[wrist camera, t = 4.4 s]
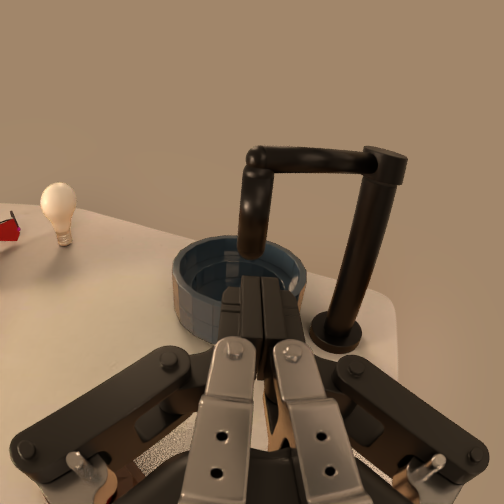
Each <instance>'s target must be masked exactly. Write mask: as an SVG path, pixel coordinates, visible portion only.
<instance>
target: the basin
mask: <svg viewBox="0 0 504 504" xmlns="http://www.w3.org/2000/svg"><path fill="white" fill-rule="evenodd" d="M237 237H238V236H228V235H227V236H226V235H224V236H217V237H210V238H205V239H202V240H200V241H197V242H194V243H191V244H190V245H188V246H187V247H185V248H184V249H182V250H181V251H180V252H179V253H178V255H177V256H176V257H175V259H174V260H173V267H172V280H173V295H174V308H175V312H176V314H177V316H178V318H179V321H180V323H181V324H182V325H183V326H184V327H185V328H186V329H187V330H188V331H189V332H191V333H192V334H193V335H194V336H196V337H198V338H200V339H202V340H205V341H207V342H209V343H211V344H214V345H215V344H216V342H217V339H218V330H219V321H220V312H221V302H222V294H223V292H224V291H225V290H226V289H227V287H228V286H230V287H241V279H242V275H245V276H258V277H273V278H278V279H279V285H280V290H288V291H291V293H292V294H293V295H294V296H295V297H296V299H297V304H298V309H299V312H300V308H301V304H302V300H303V295H304V291H305V287H306V283H307V272H306V269H305V267H304V266H303V264H302V262H301V260H300V259H299V258H298V257H296V256H295V255H294V254H293V253H292V252H291V251H289V250H287V249H285V248H283V247H282V246H280V245H278V244H276V243H273V242H269V241H266V245H265V251H264V253H263V254H262V256H261V257H259V258H258V259H256V260H246V259H244V258H243V257H241V256H240V254H239V253H238V250H237Z"/></svg>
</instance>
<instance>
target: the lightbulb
mask: <svg viewBox="0 0 504 504" xmlns="http://www.w3.org/2000/svg"><path fill="white" fill-rule="evenodd" d="M76 201H77V200H76V194H75V192H74V190H73V189H72V187H71V186H69V185H68V184H66V183H63V182H57V183H53V184H51V185H50V186H48V187H47V188H46V189H45V191H44V192H43V194H42V197H41V209H42V212H43V214H44V215H45V217H46V218H47V219H48V220H49V221H50V222H51V223H52V226H53V228H54V230H55V231H56V234H57V239H58V244H59V245H61V246H67V245H69V244H70V243H71V242H72V236H71V231H70V227H71V218H72V215H73V213H74V210H75V208H76Z"/></svg>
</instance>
